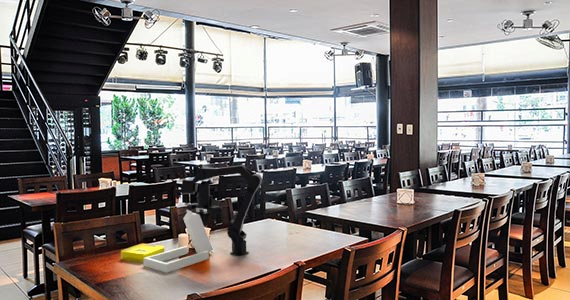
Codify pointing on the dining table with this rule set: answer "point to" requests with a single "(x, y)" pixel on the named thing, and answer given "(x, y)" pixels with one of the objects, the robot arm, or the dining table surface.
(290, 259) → the dining table surface
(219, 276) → the dining table surface
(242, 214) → the robot arm
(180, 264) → the u rest
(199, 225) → the milk
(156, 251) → the element tile
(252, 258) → the dining table surface
